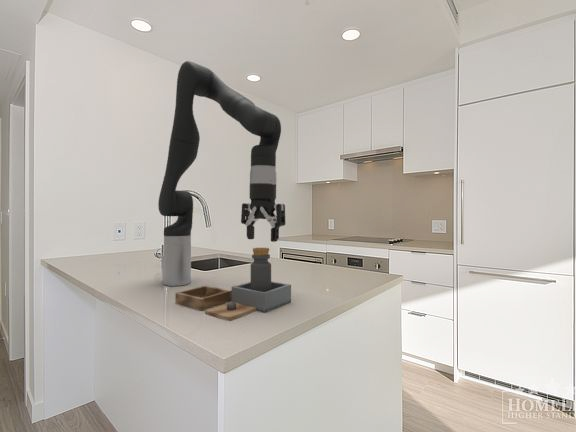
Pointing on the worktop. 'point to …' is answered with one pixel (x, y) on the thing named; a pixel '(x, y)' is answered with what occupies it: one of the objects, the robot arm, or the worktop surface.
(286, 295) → the bin
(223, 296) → the tray
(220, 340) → the worktop surface
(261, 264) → the bottle
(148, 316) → the worktop surface
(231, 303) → the corral lid
